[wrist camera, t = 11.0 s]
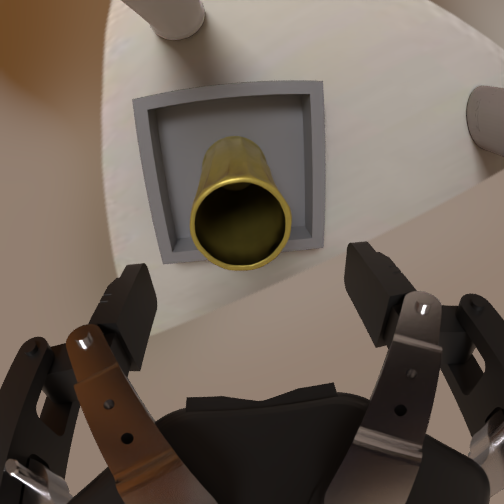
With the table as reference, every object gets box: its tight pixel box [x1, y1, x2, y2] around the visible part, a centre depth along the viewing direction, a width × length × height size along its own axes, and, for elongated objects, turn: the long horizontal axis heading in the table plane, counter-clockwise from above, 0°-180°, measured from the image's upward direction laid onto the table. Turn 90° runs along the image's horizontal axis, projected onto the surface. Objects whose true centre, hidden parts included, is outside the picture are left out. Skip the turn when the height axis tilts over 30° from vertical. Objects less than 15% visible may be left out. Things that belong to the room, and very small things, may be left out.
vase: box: [190, 136, 292, 271], centre depth 21 cm, size 6×6×14 cm
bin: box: [132, 81, 325, 264], centre depth 26 cm, size 16×16×4 cm
